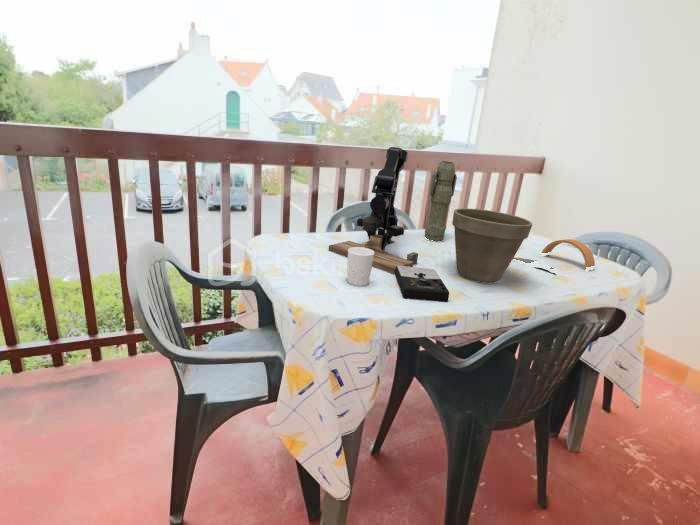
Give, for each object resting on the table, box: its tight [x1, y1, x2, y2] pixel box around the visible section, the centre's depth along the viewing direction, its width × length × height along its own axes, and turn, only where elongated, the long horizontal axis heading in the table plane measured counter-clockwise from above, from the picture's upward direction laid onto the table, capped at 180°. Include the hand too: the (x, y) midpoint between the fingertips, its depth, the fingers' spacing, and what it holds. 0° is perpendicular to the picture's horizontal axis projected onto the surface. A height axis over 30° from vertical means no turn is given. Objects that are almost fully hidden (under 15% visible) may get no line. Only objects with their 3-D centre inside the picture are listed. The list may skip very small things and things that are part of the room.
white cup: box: [346, 247, 374, 287], centre depth 113 cm, size 8×8×10 cm
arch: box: [541, 238, 596, 268], centre depth 156 cm, size 6×20×10 cm, turn 31°
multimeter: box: [394, 266, 450, 303], centre depth 115 cm, size 13×19×5 cm
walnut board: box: [327, 240, 419, 275], centre depth 138 cm, size 17×30×4 cm, turn 50°
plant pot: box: [451, 208, 533, 284], centre depth 128 cm, size 25×25×22 cm
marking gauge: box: [361, 233, 386, 253], centre depth 142 cm, size 11×5×6 cm, turn 139°
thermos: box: [424, 160, 458, 242], centre depth 167 cm, size 9×12×35 cm
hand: (377, 248), depth 145 cm, fingers closed on marking gauge, 5 cm apart
